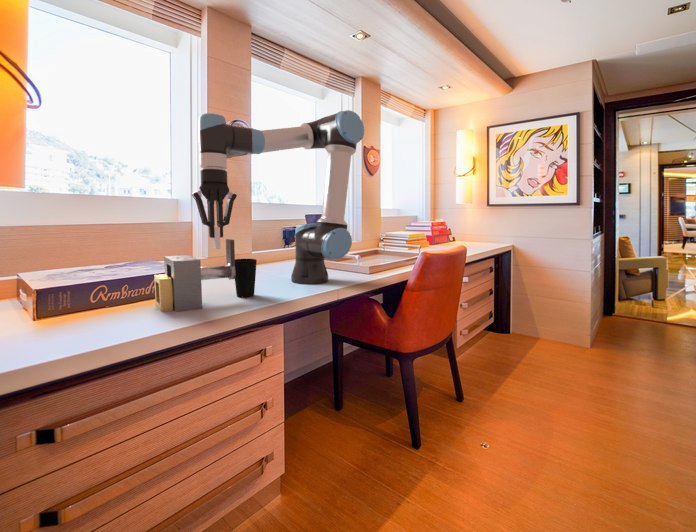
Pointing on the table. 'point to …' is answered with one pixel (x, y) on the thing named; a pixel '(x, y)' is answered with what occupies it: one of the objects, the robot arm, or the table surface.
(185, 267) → the block
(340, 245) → the robot arm
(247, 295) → the cup
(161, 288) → the block
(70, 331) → the table surface
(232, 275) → the shaft
